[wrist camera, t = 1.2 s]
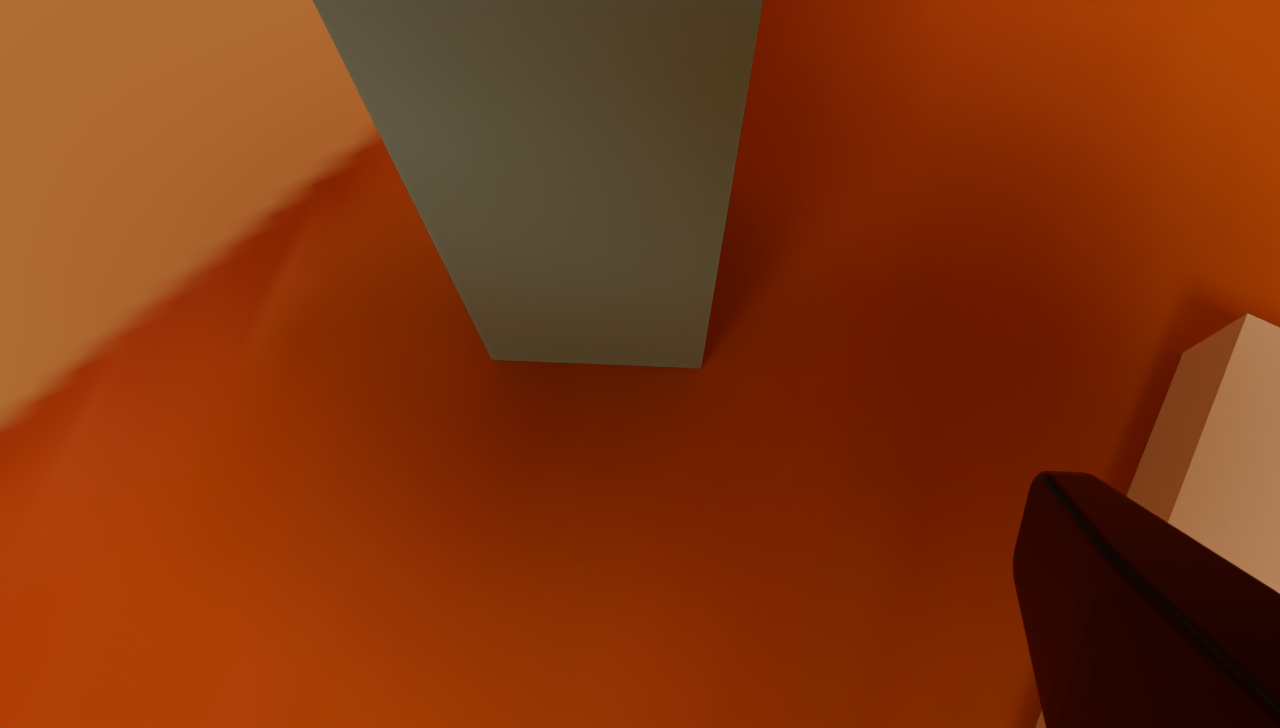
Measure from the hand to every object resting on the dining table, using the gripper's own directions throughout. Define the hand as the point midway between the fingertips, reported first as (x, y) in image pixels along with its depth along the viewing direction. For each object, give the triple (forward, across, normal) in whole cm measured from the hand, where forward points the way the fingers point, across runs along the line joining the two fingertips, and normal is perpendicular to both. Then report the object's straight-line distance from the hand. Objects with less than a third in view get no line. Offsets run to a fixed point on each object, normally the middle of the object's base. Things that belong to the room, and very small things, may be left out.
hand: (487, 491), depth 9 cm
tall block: (+14, 0, +4) cm, 15 cm away
